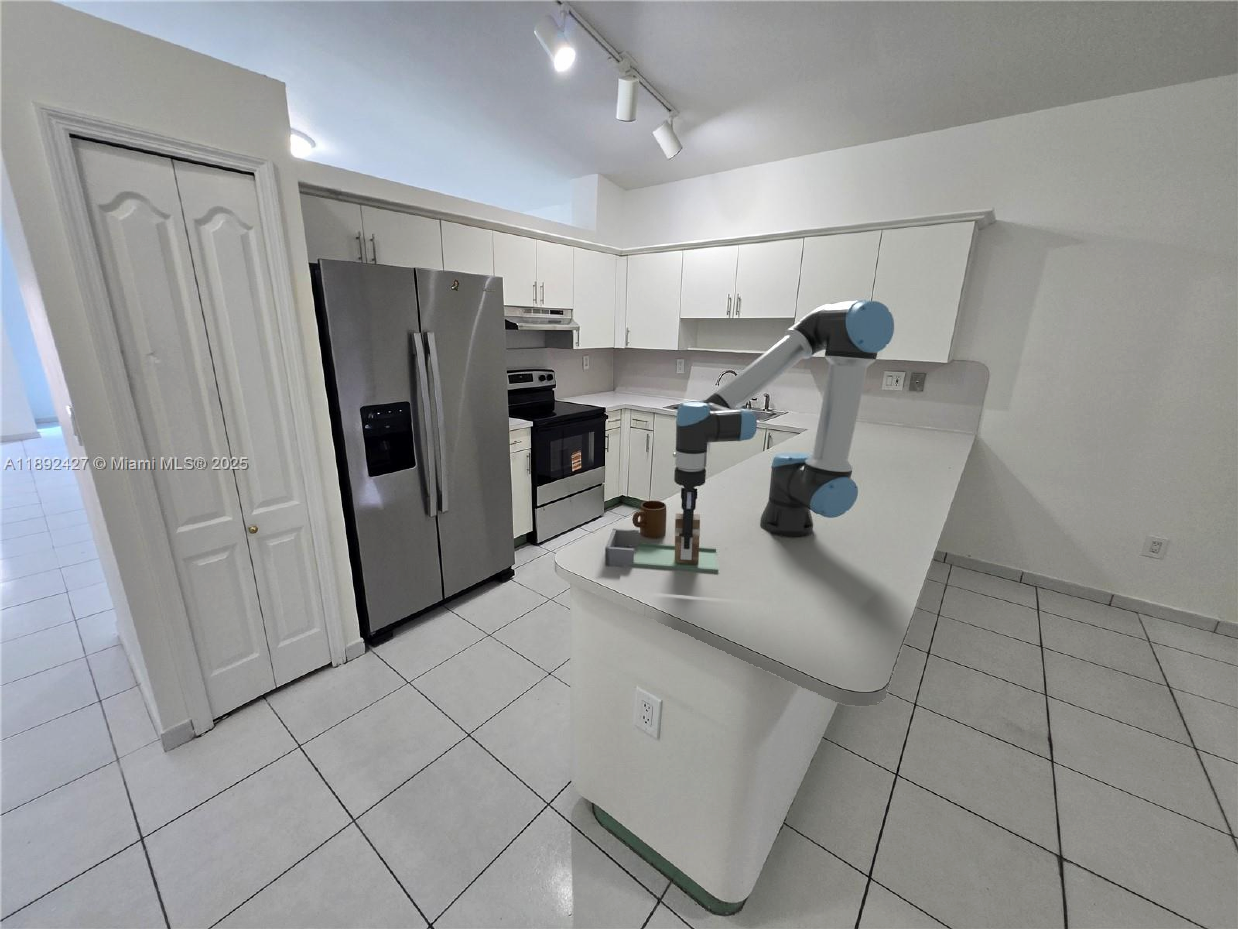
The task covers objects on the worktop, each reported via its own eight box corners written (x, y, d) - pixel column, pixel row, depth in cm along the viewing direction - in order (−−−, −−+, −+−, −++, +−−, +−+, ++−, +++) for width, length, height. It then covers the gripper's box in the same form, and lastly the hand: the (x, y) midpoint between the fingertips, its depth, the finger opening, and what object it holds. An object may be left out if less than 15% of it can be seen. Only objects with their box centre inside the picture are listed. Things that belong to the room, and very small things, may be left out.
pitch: (715, 552, 125) (716, 535, 124) (718, 574, 114) (719, 556, 112) (612, 545, 129) (612, 528, 128) (605, 566, 118) (605, 548, 116)
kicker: (698, 557, 120) (700, 514, 117) (698, 564, 116) (700, 520, 113) (674, 555, 121) (675, 513, 117) (674, 562, 117) (675, 519, 114)
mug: (642, 547, 128) (643, 516, 125) (623, 538, 133) (623, 508, 130) (671, 535, 136) (672, 505, 133) (652, 527, 141) (652, 498, 138)
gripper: (675, 457, 120) (672, 539, 127) (673, 477, 104) (669, 570, 111) (705, 458, 119) (700, 541, 126) (707, 478, 103) (701, 572, 110)
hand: (686, 554), depth 118 cm, fingers closed on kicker, 4 cm apart
